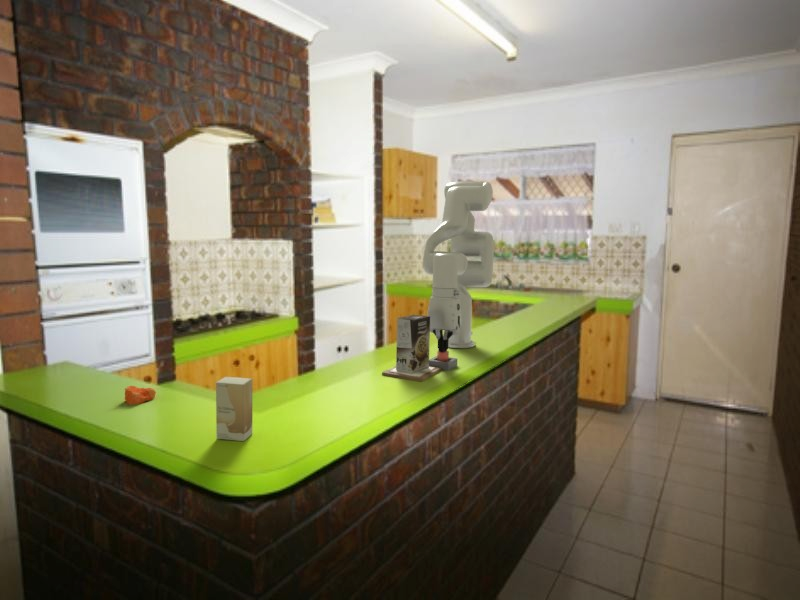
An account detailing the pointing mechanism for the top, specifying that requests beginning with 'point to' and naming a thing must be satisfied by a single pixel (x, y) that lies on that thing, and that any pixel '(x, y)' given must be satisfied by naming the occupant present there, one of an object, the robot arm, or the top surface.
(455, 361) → the button collar
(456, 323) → the robot arm
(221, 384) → the skincare box
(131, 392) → the rock
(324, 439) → the top surface
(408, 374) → the board
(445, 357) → the button
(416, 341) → the coffee box
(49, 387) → the top surface
